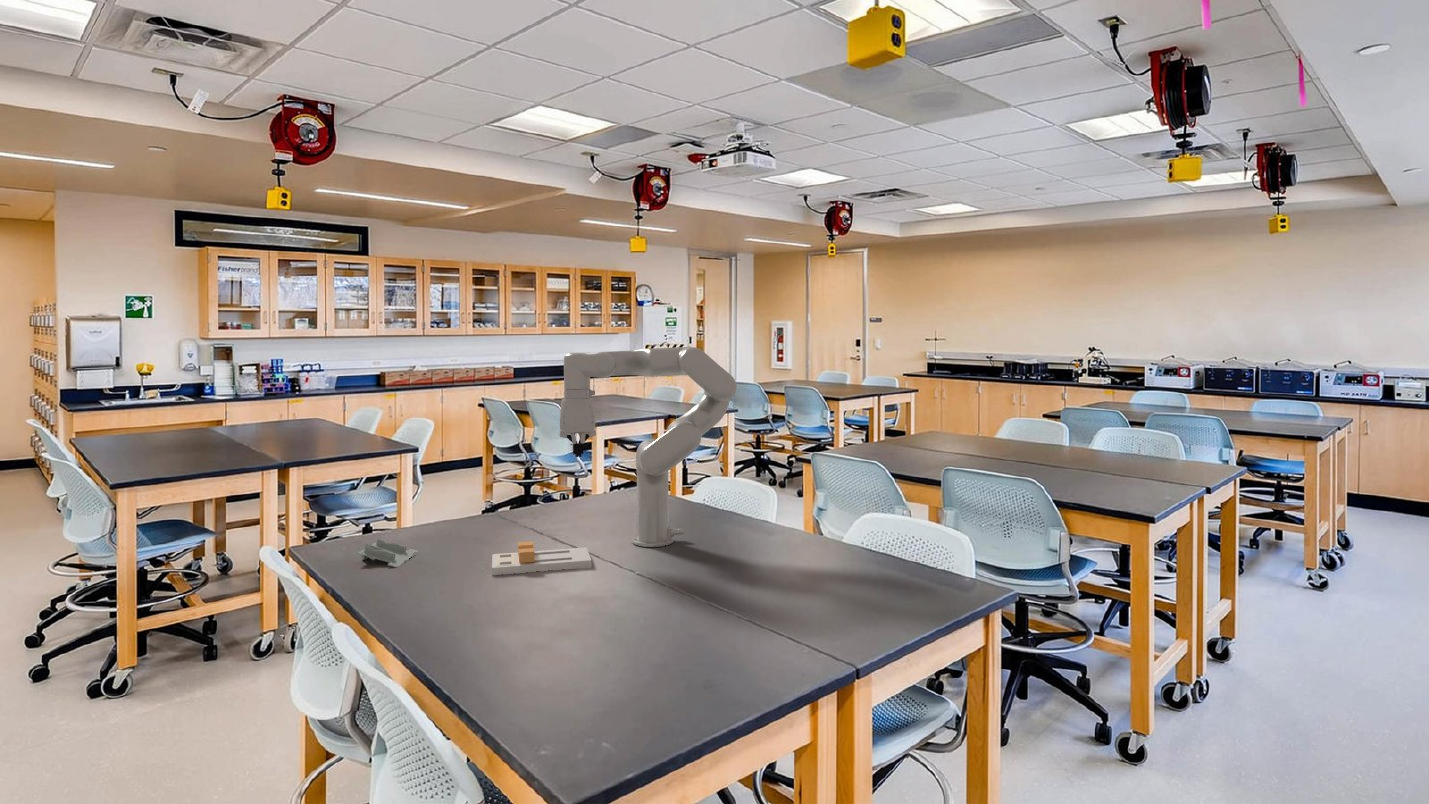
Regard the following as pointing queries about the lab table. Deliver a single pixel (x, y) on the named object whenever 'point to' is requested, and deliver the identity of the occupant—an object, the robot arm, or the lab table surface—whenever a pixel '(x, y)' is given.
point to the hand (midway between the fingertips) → (578, 456)
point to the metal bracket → (387, 552)
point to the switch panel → (541, 561)
